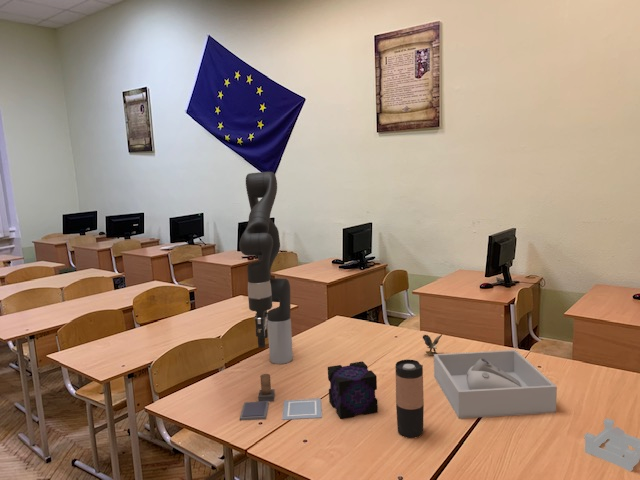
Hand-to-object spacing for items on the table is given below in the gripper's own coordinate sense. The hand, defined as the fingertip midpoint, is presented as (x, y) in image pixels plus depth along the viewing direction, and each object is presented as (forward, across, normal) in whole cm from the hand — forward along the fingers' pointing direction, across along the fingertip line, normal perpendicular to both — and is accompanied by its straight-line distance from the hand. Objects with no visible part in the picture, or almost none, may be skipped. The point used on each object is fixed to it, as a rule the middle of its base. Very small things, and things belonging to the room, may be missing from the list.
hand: (263, 342), depth 160 cm
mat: (+20, +9, +12) cm, 25 cm away
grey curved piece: (+19, +5, +73) cm, 76 cm away
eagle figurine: (+20, -30, +63) cm, 72 cm away
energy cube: (+20, +9, +28) cm, 35 cm away
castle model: (+20, +41, +93) cm, 104 cm away
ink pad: (+20, +9, -3) cm, 22 cm away
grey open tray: (+20, +5, +73) cm, 76 cm away
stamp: (+20, 0, 0) cm, 20 cm away
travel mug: (+20, +25, +43) cm, 53 cm away
